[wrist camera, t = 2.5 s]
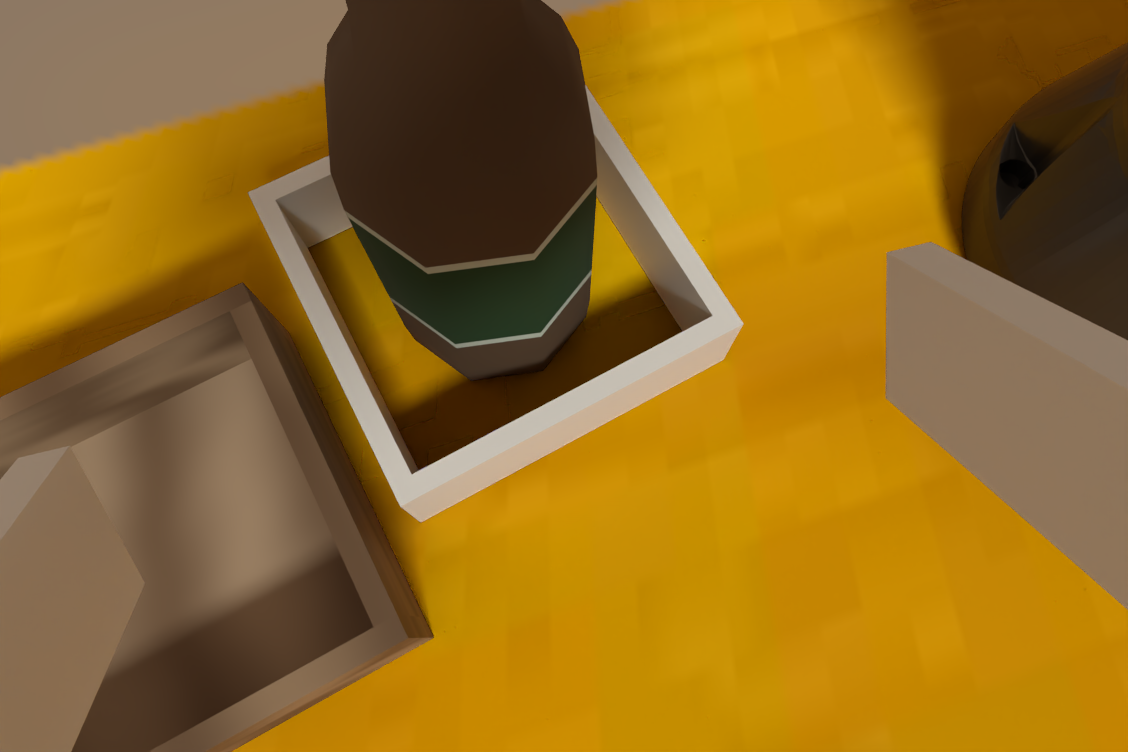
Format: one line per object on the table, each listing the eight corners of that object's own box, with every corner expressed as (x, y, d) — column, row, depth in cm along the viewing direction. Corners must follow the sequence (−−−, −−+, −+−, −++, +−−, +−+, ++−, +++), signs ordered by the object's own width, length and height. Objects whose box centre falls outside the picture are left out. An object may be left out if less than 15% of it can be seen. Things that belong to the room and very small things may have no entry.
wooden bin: (289, 332, 33) (242, 282, 29) (433, 637, 30) (408, 638, 25) (-37, 491, 31) (-144, 465, 27) (75, 838, 28) (-27, 880, 23)
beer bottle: (565, 408, 32) (557, -140, 9) (379, 363, 33) (-49, -256, 10) (609, 238, 35) (691, -536, 12) (435, 199, 35) (190, -611, 12)
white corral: (562, 110, 37) (561, 49, 33) (723, 359, 33) (743, 323, 29) (282, 241, 35) (247, 192, 31) (420, 522, 31) (400, 506, 27)
